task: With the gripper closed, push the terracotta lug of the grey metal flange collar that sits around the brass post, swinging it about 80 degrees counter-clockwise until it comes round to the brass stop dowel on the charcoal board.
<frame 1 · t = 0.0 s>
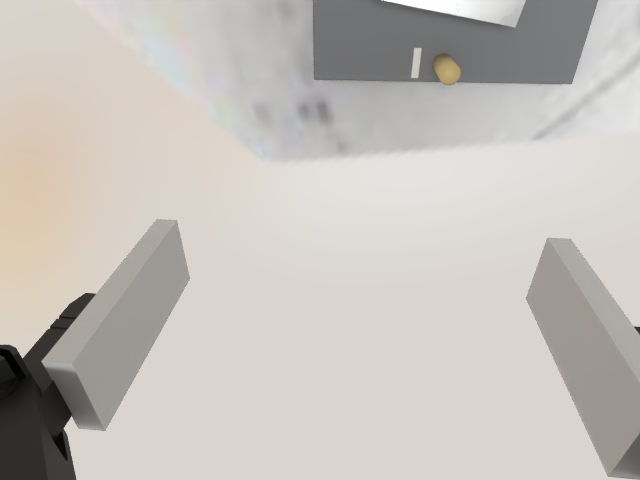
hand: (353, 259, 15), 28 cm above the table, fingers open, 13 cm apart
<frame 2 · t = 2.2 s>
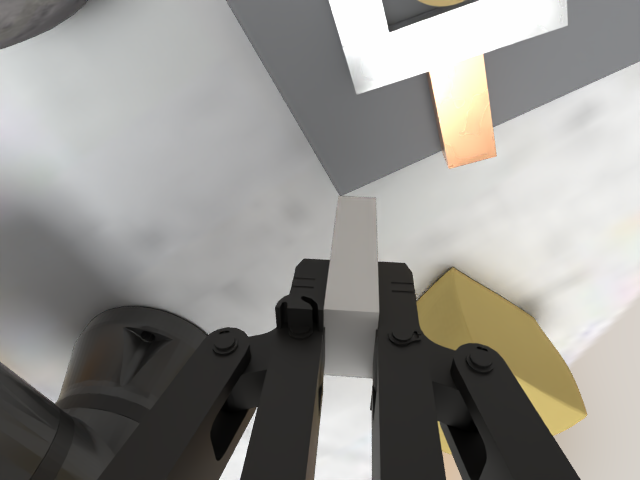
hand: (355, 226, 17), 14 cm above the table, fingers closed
flange: (443, 9, 22), point 3 cm above the table, hinge at 0.0°
cheese: (456, 321, 39), on the table
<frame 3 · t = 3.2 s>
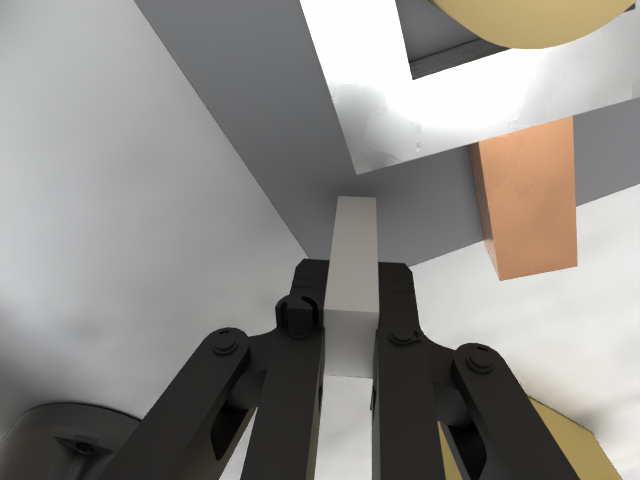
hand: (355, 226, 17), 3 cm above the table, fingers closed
flange: (504, 40, 13), point 3 cm above the table, hinge at 0.0°
cheese: (487, 431, 30), on the table
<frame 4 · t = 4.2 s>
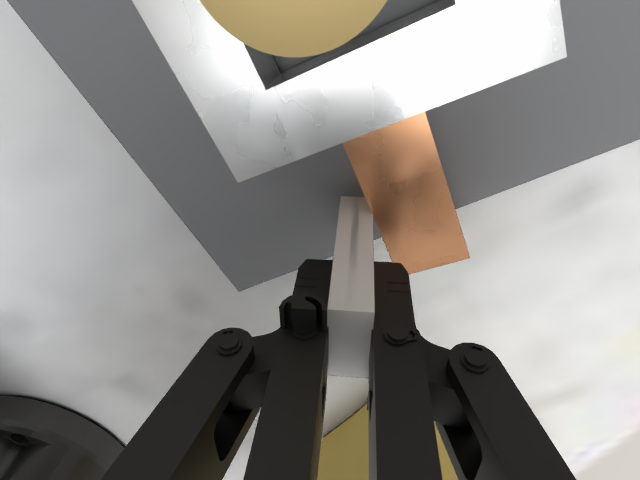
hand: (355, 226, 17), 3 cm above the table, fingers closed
flange: (355, 43, 14), point 3 cm above the table, hinge at 5.3°, touching gripper
cheese: (414, 430, 30), on the table
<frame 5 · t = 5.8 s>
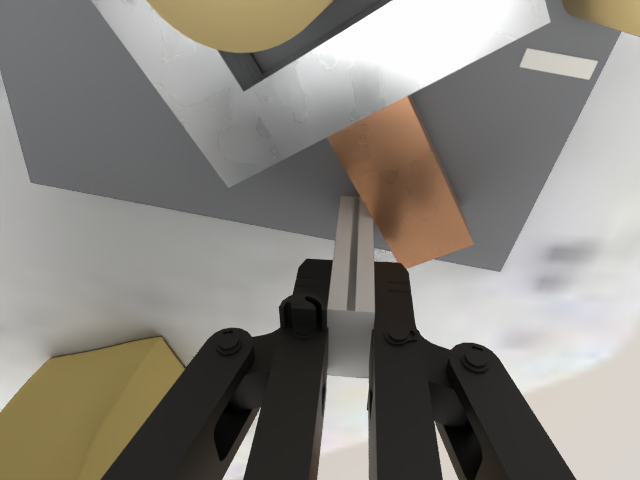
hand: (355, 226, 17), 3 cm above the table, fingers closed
flange: (330, 34, 13), point 3 cm above the table, hinge at 48.5°, touching gripper
cheese: (144, 387, 31), on the table
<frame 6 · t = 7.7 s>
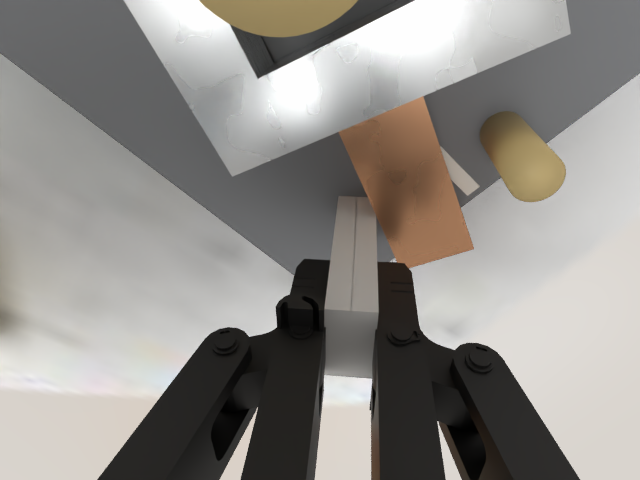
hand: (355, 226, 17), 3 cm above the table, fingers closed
flange: (349, 28, 13), point 3 cm above the table, hinge at 77.3°, touching gripper
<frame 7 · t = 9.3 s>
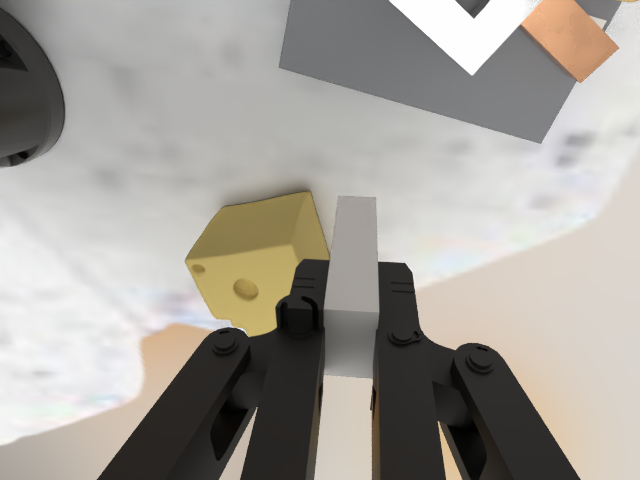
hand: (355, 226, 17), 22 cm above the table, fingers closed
cheese: (280, 236, 45), on the table
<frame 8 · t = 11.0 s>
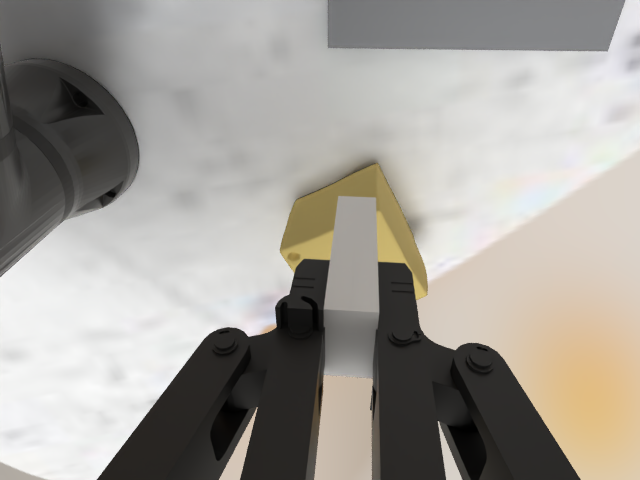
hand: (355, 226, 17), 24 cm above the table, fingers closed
cheese: (356, 215, 46), on the table
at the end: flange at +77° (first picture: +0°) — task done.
